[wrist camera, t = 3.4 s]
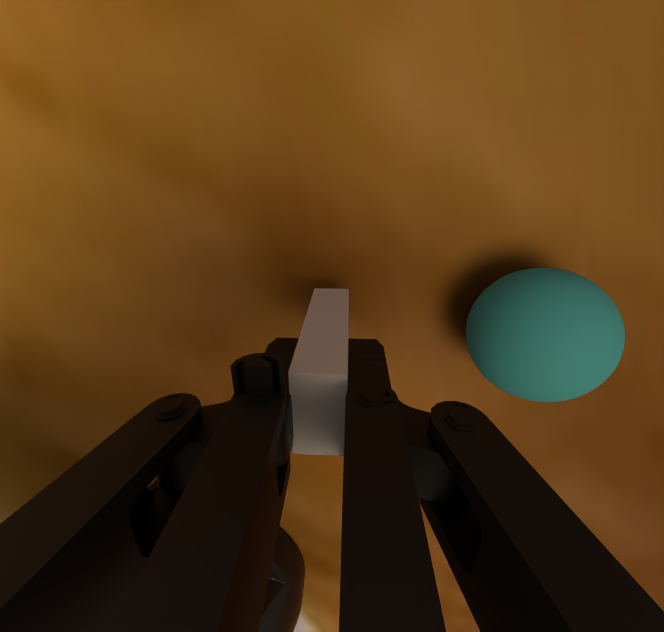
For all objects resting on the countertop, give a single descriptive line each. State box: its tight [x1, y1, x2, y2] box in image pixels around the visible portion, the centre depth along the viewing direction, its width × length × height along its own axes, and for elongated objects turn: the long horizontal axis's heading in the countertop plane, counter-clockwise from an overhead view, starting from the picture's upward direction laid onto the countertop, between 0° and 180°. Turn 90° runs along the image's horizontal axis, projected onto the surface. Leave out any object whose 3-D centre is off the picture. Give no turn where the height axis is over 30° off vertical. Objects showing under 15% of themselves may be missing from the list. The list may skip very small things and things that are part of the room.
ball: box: [466, 268, 625, 402], centre depth 14 cm, size 6×6×6 cm
